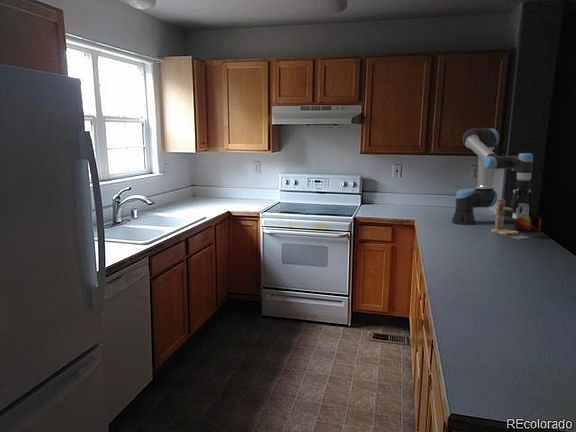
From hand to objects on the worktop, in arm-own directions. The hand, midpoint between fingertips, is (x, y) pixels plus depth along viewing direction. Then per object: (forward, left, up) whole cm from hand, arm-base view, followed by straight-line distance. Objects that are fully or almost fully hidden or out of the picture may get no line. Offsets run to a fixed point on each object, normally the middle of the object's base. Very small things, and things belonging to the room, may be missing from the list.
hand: (520, 217), depth 258 cm
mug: (-10, +18, -11) cm, 24 cm away
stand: (-10, 0, -11) cm, 15 cm away
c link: (0, 0, 0) cm, 0 cm away
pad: (+5, -4, -11) cm, 13 cm away
